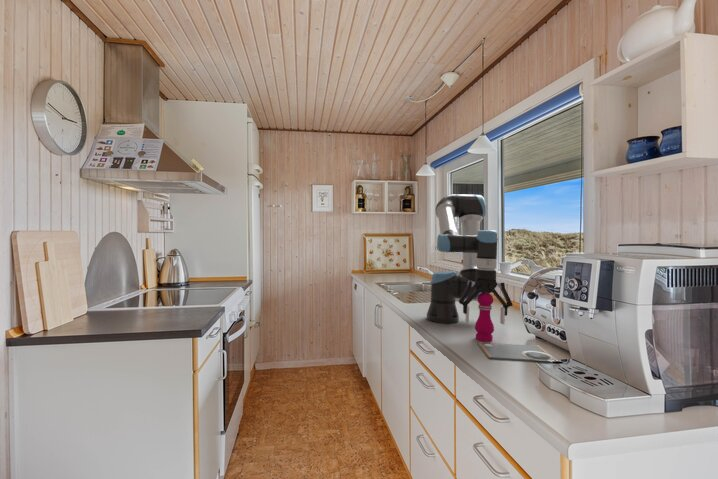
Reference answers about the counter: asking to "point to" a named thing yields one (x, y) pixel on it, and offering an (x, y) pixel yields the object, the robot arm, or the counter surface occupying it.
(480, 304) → the pepper mill
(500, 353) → the slate
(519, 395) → the counter surface
